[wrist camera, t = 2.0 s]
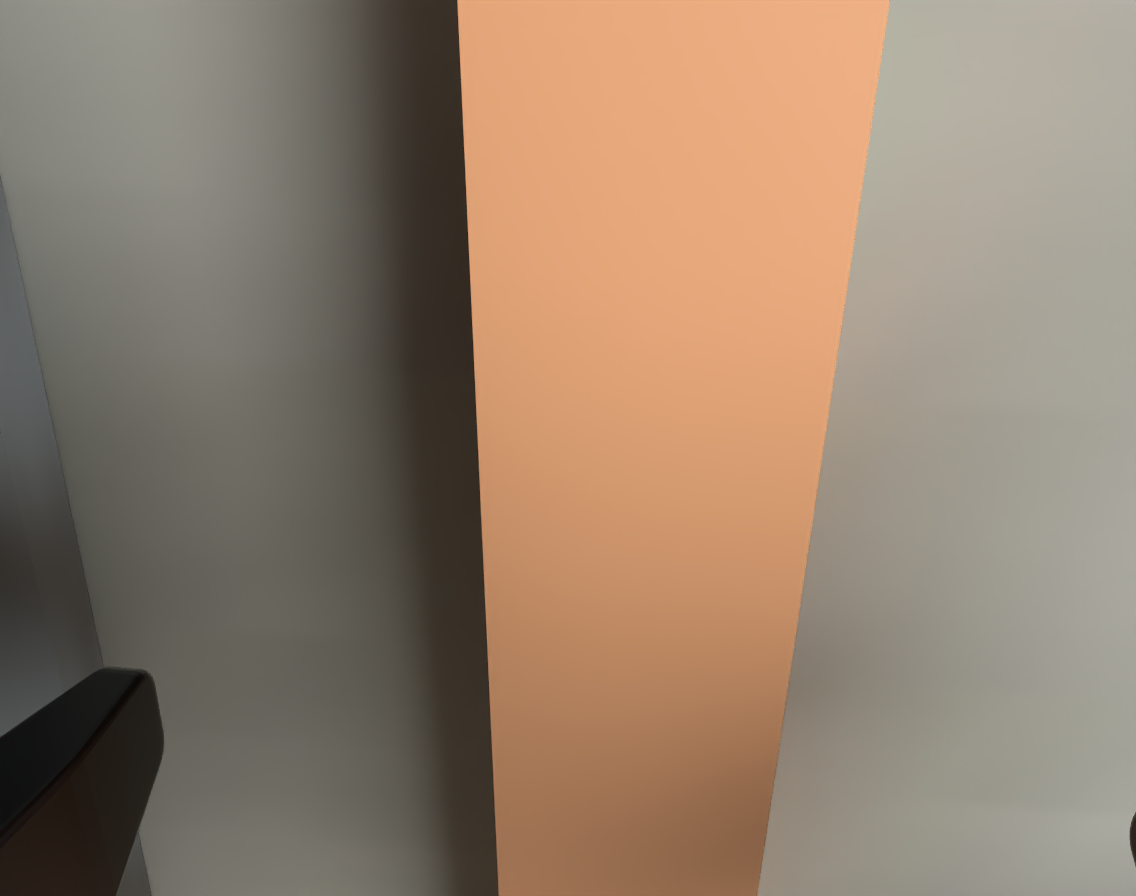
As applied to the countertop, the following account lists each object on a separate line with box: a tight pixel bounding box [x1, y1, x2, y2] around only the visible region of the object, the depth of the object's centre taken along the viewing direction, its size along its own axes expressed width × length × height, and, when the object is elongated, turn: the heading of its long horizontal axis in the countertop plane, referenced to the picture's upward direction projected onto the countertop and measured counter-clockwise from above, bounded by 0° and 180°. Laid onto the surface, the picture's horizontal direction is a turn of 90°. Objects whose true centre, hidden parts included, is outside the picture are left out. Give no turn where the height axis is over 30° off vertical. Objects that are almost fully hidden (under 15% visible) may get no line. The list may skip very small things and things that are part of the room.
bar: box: [457, 0, 890, 896], centre depth 12 cm, size 18×3×3 cm, turn 0°
